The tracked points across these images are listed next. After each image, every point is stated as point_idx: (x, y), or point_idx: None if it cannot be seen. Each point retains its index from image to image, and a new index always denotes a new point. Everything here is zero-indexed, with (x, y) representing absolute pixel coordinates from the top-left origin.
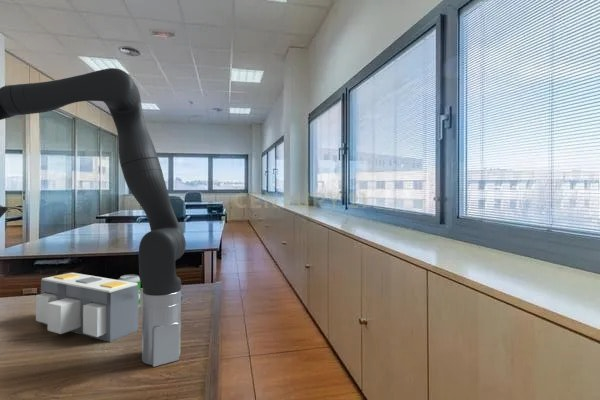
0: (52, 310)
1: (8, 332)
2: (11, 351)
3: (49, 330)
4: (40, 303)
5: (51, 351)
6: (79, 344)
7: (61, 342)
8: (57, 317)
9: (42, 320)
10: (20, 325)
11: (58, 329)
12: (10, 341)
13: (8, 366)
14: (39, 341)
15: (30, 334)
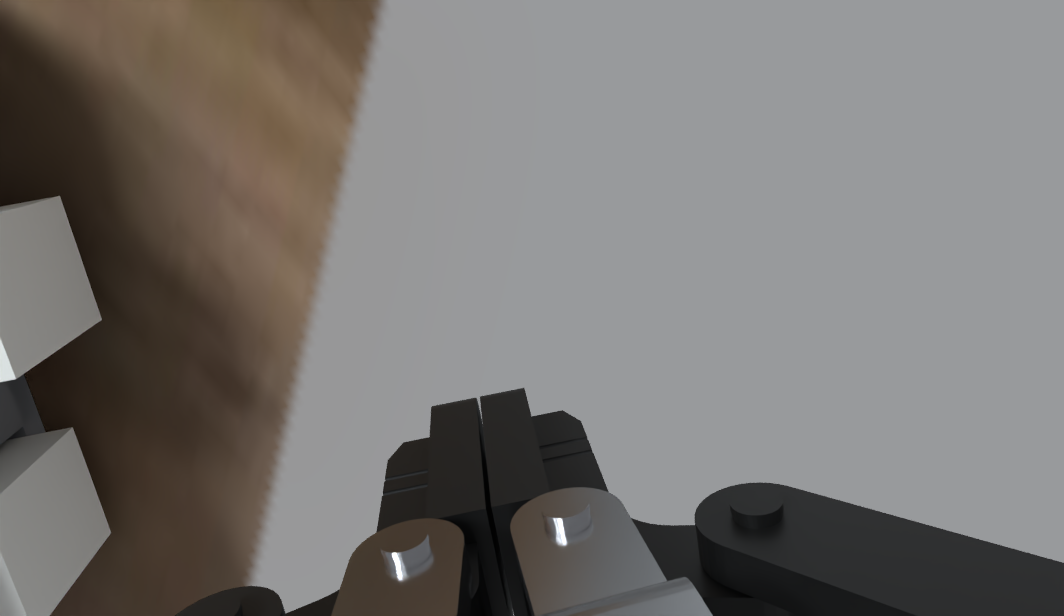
0: (20, 311)
1: (249, 536)
2: (300, 253)
3: (94, 302)
4: (43, 558)
5: (156, 80)
6: (11, 48)
7: (81, 167)
8: (21, 246)
9: (85, 482)
10: (180, 599)
11: (55, 222)
12: (271, 397)
13: (355, 66)
14: (165, 280)
15: (174, 422)
